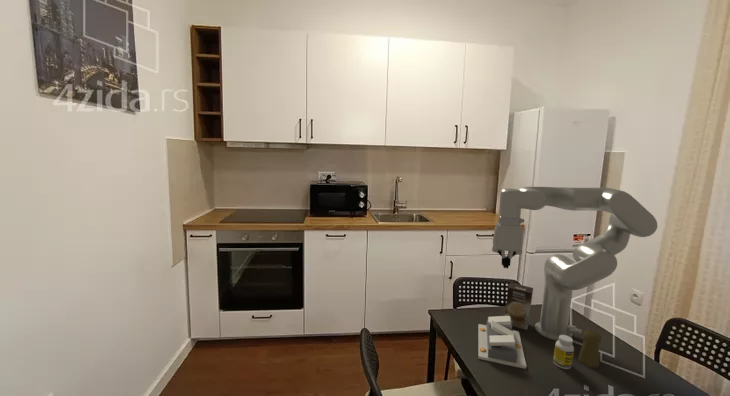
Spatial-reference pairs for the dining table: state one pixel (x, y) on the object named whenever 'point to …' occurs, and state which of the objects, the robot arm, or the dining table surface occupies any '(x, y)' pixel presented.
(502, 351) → the switch unit
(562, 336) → the supplement bottle
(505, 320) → the rocker back
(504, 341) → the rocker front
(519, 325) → the coffee box
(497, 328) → the rocker middle
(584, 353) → the cork
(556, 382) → the dining table surface
